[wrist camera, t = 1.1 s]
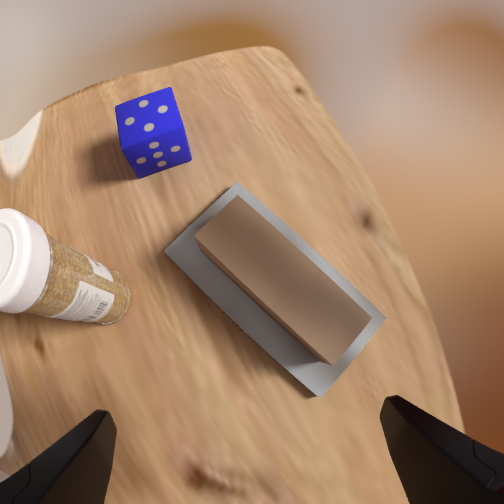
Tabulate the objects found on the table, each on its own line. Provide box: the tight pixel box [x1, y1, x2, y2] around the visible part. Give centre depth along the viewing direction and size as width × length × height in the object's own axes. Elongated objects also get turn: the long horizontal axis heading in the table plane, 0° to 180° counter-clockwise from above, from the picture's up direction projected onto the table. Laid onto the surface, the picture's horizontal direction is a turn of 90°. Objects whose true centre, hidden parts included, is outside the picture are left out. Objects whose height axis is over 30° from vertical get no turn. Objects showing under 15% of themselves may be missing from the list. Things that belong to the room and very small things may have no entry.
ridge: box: [164, 182, 386, 398], centre depth 21 cm, size 8×16×4 cm, turn 46°
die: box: [115, 87, 192, 178], centre depth 24 cm, size 5×5×5 cm
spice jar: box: [0, 208, 131, 325], centre depth 16 cm, size 5×5×14 cm
